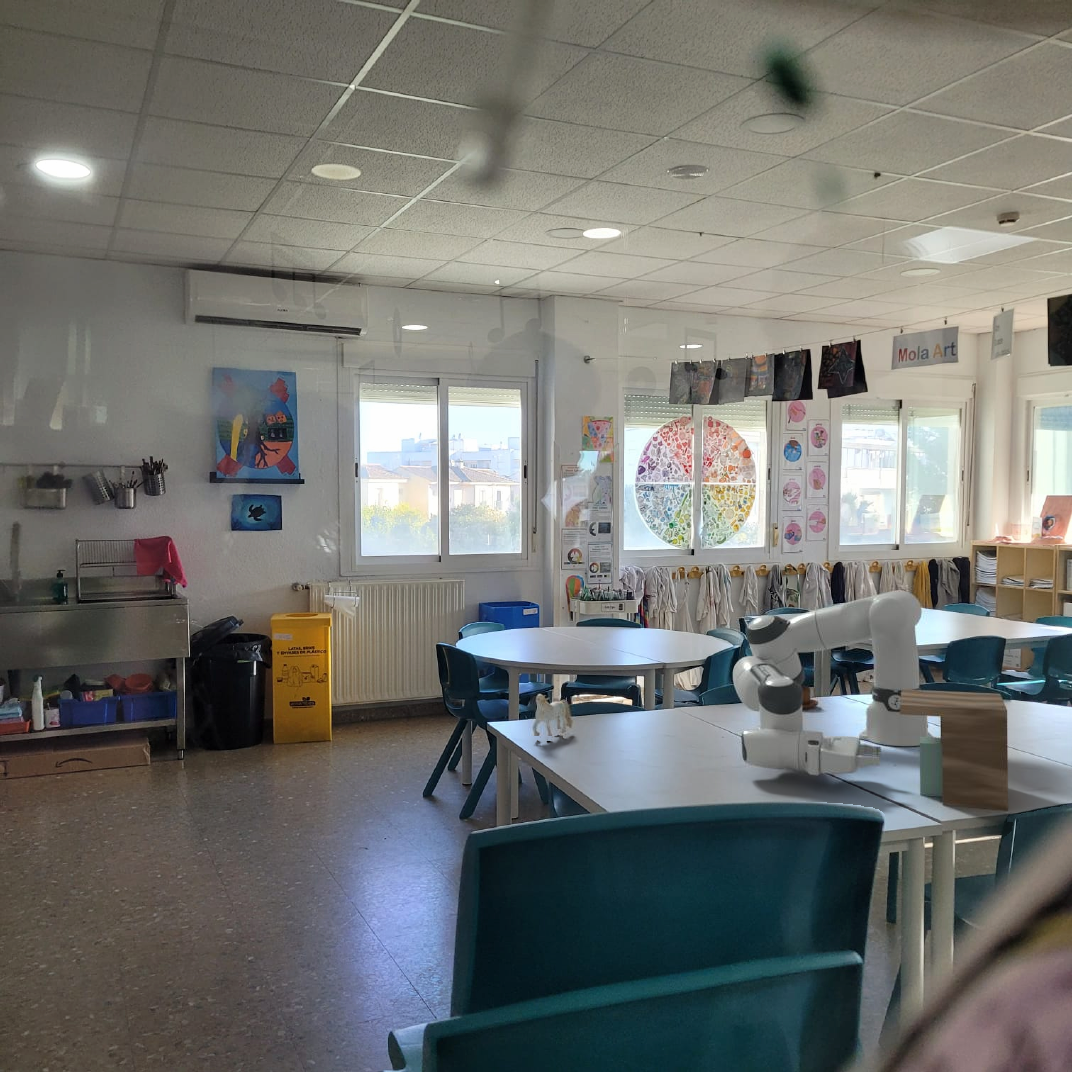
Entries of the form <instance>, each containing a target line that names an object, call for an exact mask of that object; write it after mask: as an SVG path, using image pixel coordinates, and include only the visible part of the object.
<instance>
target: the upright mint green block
mask: <svg viewBox="0 0 1072 1072" xmlns="http://www.w3.org/2000/svg"><path fill="white" fill-rule="evenodd" d="M919 783H920V784H919V787H920V788H919V794H920V796H927V797H928V796H929V797H939V798H941V797H942V738H941V737H934V736H933V737H920V745H919ZM942 798H943V797H942Z"/></svg>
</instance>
